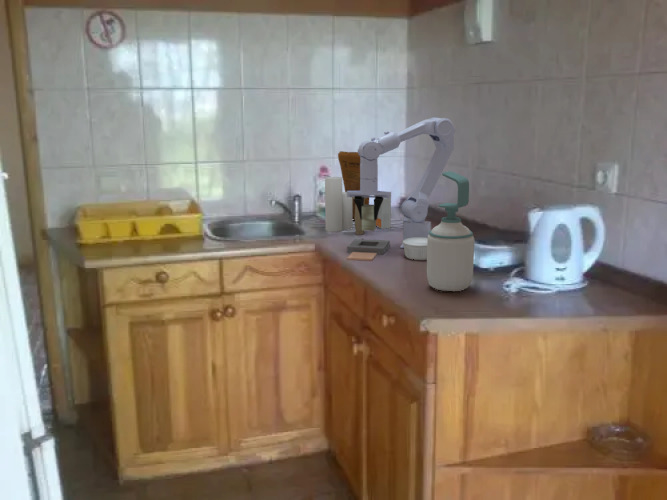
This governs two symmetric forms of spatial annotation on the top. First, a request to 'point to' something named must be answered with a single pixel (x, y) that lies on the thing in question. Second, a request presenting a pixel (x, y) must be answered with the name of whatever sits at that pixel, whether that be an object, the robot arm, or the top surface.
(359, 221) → the handle
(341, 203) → the pair of white cylinders
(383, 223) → the skincare box
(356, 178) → the pancake mix bag
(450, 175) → the soap bottle
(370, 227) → the sage block
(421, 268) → the top surface
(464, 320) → the top surface
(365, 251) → the pocket board
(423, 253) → the ramekin
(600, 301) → the top surface
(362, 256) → the coaster
